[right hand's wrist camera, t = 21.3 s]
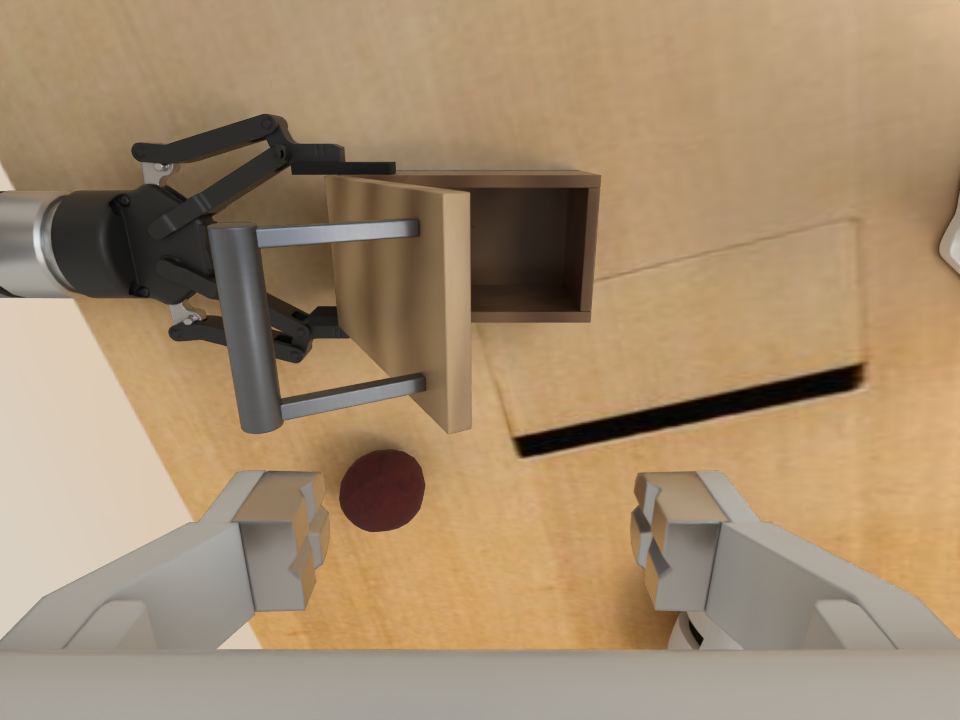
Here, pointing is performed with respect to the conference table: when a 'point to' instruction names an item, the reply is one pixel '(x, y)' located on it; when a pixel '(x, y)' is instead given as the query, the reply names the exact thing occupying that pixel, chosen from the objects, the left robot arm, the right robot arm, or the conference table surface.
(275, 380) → the lid
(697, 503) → the right robot arm
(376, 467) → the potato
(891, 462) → the conference table surface
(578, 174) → the chest
